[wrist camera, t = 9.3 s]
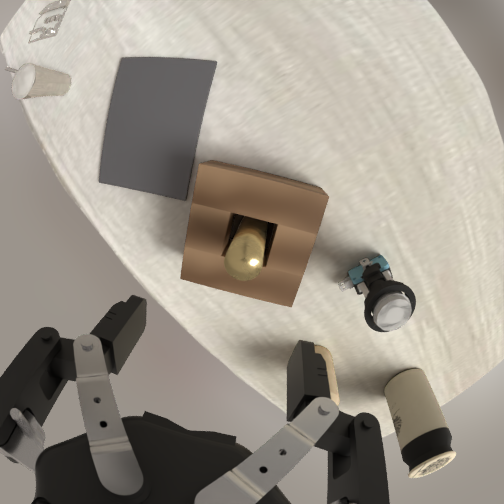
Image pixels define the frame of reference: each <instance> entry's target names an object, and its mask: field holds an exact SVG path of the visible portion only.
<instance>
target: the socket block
mask: <svg viewBox="0 0 504 504" xmlns="http://www.w3.org/2000/svg"><path fill="white" fill-rule="evenodd" d="M328 199H329V196H328V195H327V194H326V193H325V192H324V190H323V189H322V188H320V187H317V186H313V185H310V184H306V183H303V182H299V181H296V180H292V179H288V178H285V177H281V176H277V175H273V174H269V173H265V172H261V171H257V170H253V169H249V168H245V167H241V166H236V165H232V164H227V163H223V162H218V161H213V160H211V161H207V162H204V163H200V164H199V167H198V172H197V177H196V182H195V188H194V193H193V199H192V204H191V210H190V216H189V222H188V228H187V235H186V241H185V248H184V255H183V262H182V270H181V277H180V279H183V280H187V281H190V282H194V283H197V284H201V285H205V286H208V287H212V288H216V289H220V290H223V291H227V292H231V293H235V294H239V295H243V296H247V297H251V298H255V299H259V300H263V301H267V302H271V303H275V304H280V305H284V306H288V307H292V305H293V302H294V299H295V297H296V294H297V291H298V288H299V286H300V283H301V280H302V277H303V274H304V272H305V269H306V266H307V263H308V260H309V257H310V254H311V251H312V248H313V245H314V242H315V239H316V236H317V233H318V230H319V227H320V224H321V221H322V218H323V215H324V212H325V208H326V205H327V202H328ZM235 213H236V214H240V215H244V216H248V217H252V218H256V219H260V220H264V221H267V222H271V223H275V225H274V229H273V232H272V236H271V239H270V243H269V247H268V248H265V250H264V257H263V265H262V269H261V272H260V273H259V275H258V276H257V277H255V278H254V279H251V280H247V281H241V280H237V279H235V278H233V277H232V276H230V275H229V274H228V272H227V271H226V269H225V266H224V258H225V256H226V253H227V251H228V249H229V247H230V245H231V242H232V240H233V239H230V234H231V230H232V225H233V221H234V216H235Z"/></svg>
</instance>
